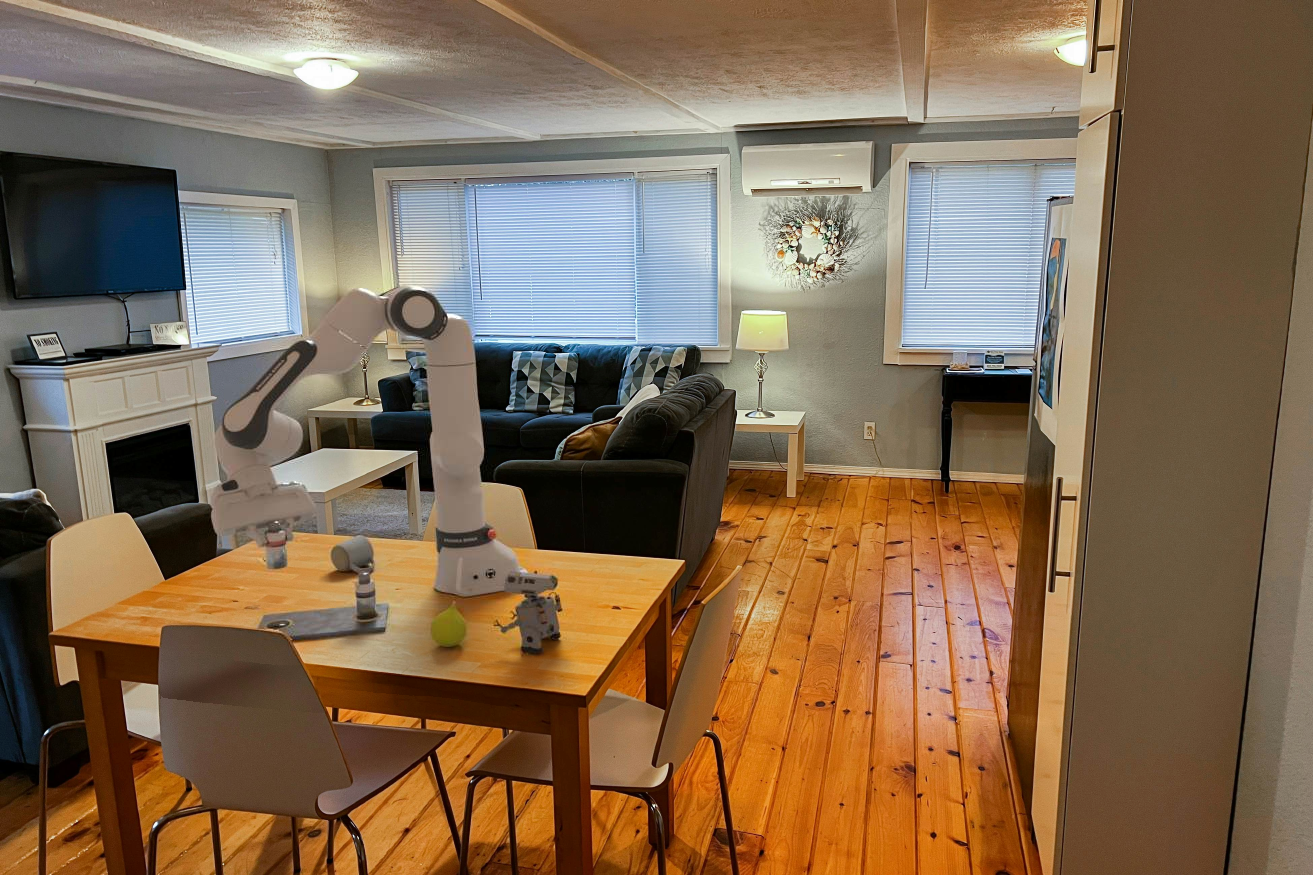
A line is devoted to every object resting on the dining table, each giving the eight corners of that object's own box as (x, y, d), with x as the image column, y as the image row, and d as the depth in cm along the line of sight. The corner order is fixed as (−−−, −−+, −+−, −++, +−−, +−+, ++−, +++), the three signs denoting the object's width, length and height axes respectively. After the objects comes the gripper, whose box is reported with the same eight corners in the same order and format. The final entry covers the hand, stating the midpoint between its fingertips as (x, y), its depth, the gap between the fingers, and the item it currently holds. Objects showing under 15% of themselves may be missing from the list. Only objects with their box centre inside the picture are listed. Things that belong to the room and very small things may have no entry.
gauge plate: (388, 607, 207) (388, 602, 207) (385, 631, 194) (384, 625, 194) (264, 619, 202) (263, 614, 201) (252, 644, 188) (251, 639, 188)
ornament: (471, 638, 190) (468, 591, 188) (463, 652, 183) (460, 604, 181) (436, 638, 190) (433, 592, 188) (427, 652, 183) (424, 604, 181)
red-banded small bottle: (289, 562, 195) (286, 518, 193) (286, 568, 191) (283, 524, 189) (268, 563, 194) (264, 519, 192) (265, 569, 190) (261, 525, 188)
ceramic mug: (329, 570, 233) (327, 540, 231) (355, 560, 240) (353, 532, 238) (357, 578, 227) (355, 548, 226) (383, 568, 234) (382, 539, 233)
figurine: (517, 632, 192) (514, 563, 189) (567, 639, 188) (565, 569, 185) (494, 649, 184) (491, 577, 181) (546, 657, 180) (543, 584, 177)
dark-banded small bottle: (377, 611, 202) (374, 569, 200) (376, 618, 198) (373, 575, 196) (358, 613, 201) (354, 571, 199) (356, 620, 197) (353, 577, 195)
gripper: (298, 488, 205) (321, 540, 200) (201, 504, 191) (222, 561, 186) (306, 472, 201) (329, 525, 196) (207, 487, 187) (229, 544, 182)
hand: (276, 542), depth 191 cm, fingers closed on red-banded small bottle, 4 cm apart
